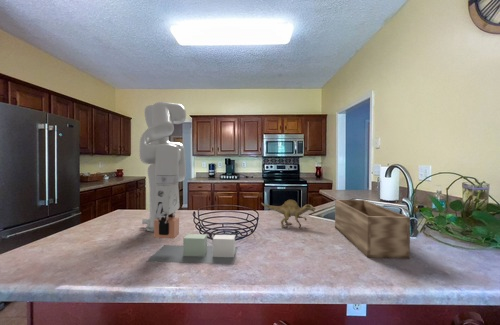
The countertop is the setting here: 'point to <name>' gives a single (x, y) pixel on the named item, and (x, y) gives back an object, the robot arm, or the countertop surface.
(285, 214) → the dinosaur figurine
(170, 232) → the terracotta brick
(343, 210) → the toy crate
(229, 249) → the offwhite brick
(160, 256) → the baseplate
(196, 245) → the sage brick
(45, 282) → the countertop surface
